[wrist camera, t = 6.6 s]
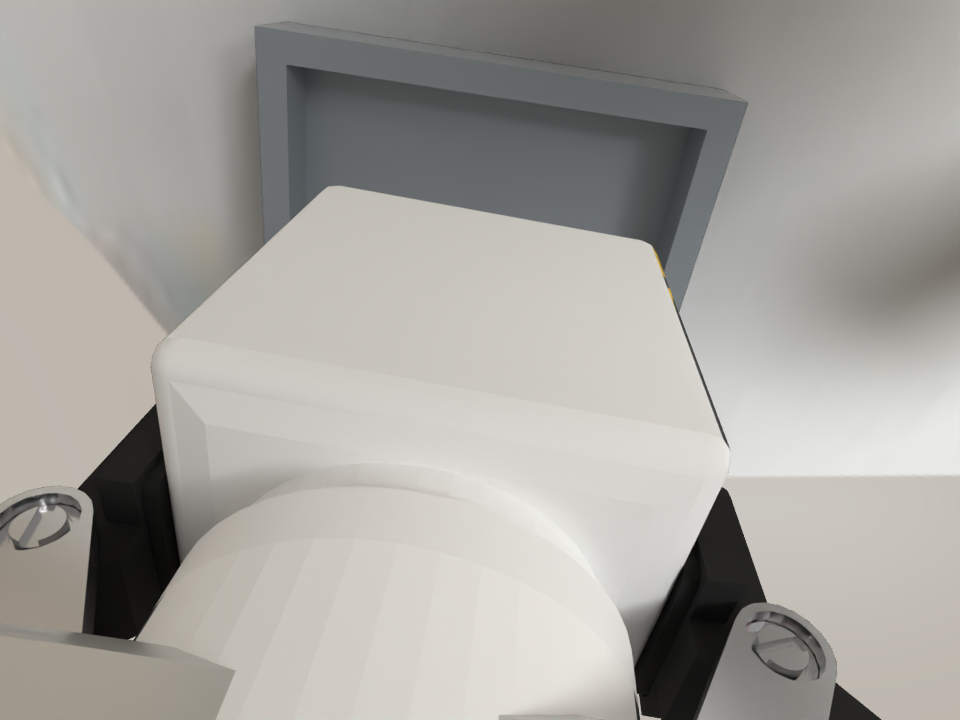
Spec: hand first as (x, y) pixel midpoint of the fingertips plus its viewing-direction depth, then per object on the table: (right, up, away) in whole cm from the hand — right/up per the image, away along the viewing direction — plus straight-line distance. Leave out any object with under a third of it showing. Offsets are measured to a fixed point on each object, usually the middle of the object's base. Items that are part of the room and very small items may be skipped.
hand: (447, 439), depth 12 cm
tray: (+1, +7, +14) cm, 16 cm away
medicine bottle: (0, +2, +3) cm, 4 cm away
